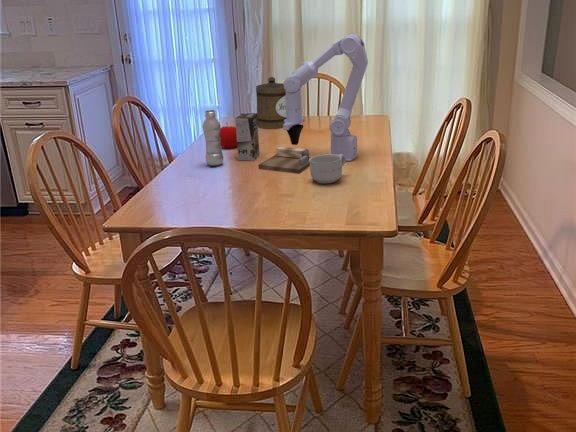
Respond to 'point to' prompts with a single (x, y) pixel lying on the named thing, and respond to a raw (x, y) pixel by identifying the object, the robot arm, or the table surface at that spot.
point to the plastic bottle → (212, 139)
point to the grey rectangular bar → (291, 152)
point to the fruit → (228, 137)
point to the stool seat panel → (286, 164)
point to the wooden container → (271, 104)
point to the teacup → (326, 167)
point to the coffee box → (247, 136)
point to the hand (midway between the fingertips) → (294, 144)
